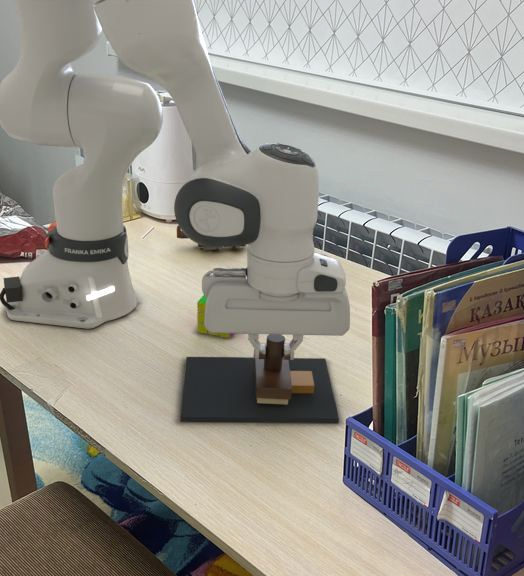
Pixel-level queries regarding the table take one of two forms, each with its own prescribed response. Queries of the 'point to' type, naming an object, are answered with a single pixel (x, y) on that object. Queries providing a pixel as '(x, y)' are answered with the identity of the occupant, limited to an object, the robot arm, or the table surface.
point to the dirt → (302, 381)
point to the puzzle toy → (201, 317)
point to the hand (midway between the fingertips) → (274, 357)
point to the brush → (273, 373)
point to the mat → (251, 393)
